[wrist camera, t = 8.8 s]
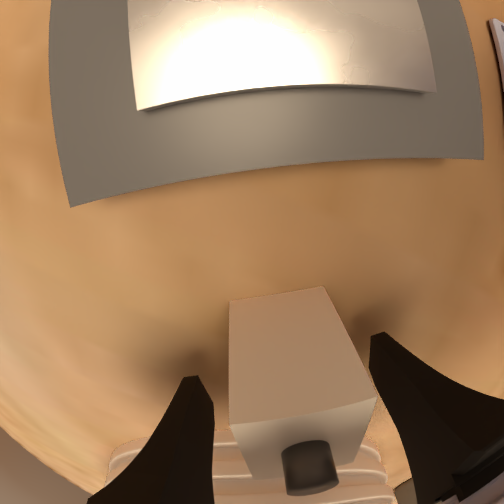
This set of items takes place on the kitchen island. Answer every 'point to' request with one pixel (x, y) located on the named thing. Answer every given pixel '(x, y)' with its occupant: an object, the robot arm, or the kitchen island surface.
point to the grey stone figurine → (407, 493)
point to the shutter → (274, 47)
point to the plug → (296, 389)
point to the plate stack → (274, 490)
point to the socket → (242, 111)
